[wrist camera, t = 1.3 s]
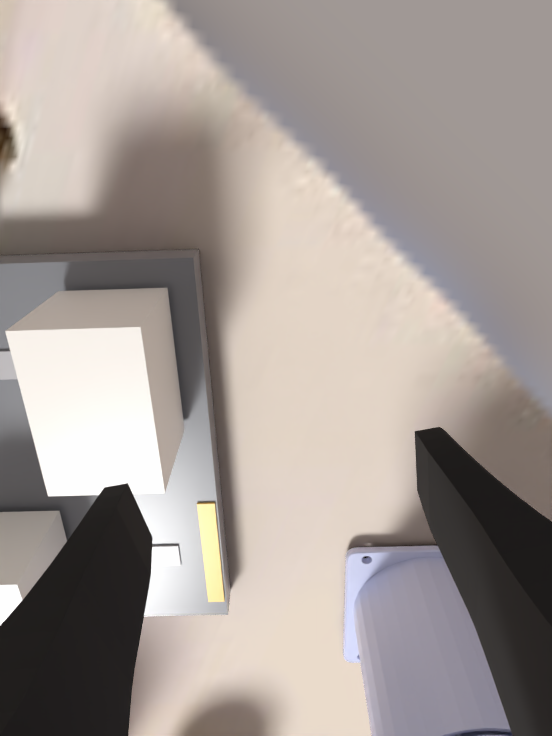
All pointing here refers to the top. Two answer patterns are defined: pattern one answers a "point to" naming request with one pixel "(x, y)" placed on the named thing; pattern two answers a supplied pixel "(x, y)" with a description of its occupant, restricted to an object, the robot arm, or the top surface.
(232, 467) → the top surface
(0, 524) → the switch back
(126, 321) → the switch front
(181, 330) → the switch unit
